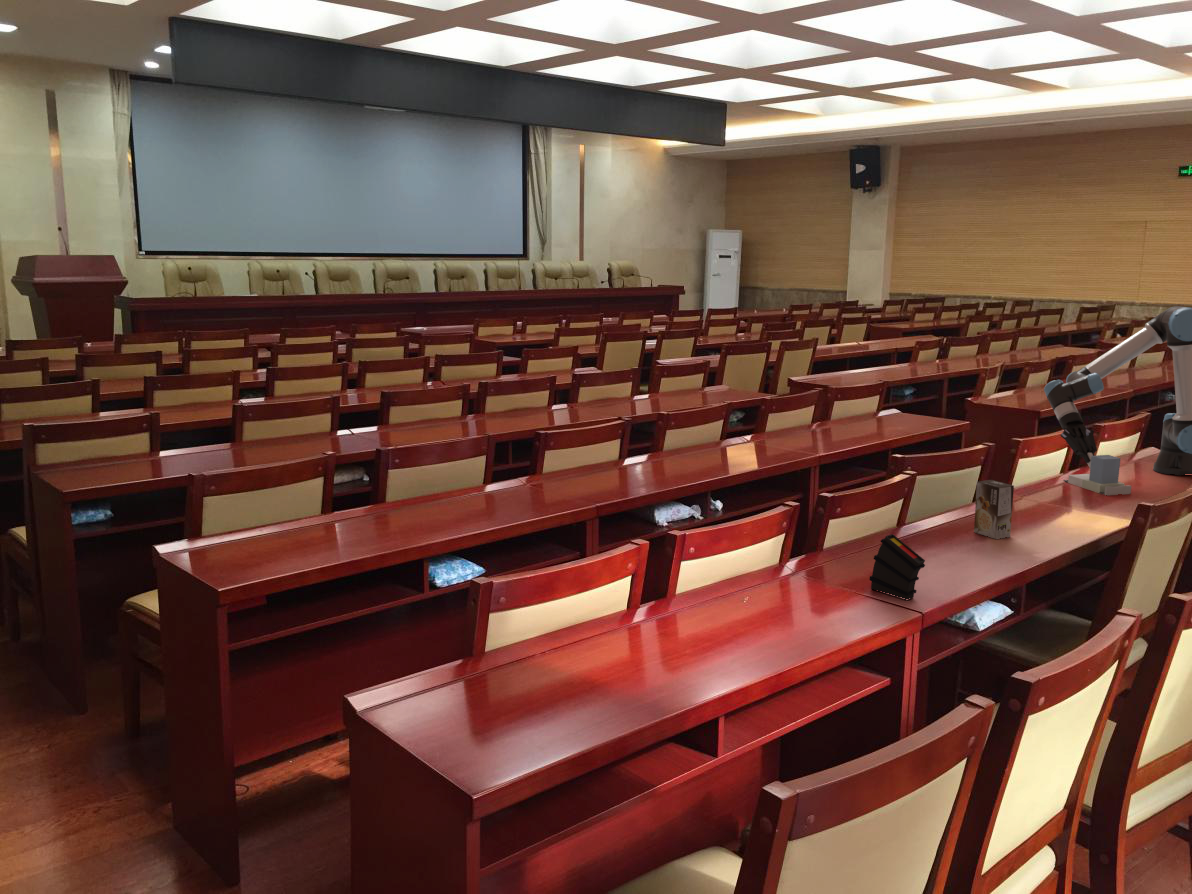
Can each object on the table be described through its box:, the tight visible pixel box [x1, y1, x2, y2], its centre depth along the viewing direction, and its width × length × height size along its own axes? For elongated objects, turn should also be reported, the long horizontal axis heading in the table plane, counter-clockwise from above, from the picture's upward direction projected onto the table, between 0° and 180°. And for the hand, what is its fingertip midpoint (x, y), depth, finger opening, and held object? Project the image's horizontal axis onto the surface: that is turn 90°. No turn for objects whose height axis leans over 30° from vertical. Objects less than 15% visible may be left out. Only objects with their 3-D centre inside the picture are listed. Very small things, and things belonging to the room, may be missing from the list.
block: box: [1089, 454, 1121, 484], centre depth 345 cm, size 7×6×9 cm
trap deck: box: [1063, 473, 1132, 496], centre depth 350 cm, size 10×22×3 cm, turn 12°
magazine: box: [868, 534, 926, 599], centre depth 240 cm, size 4×13×15 cm, turn 39°
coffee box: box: [973, 479, 1015, 540], centre depth 291 cm, size 9×6×16 cm
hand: (1095, 469), depth 350 cm, fingers closed
